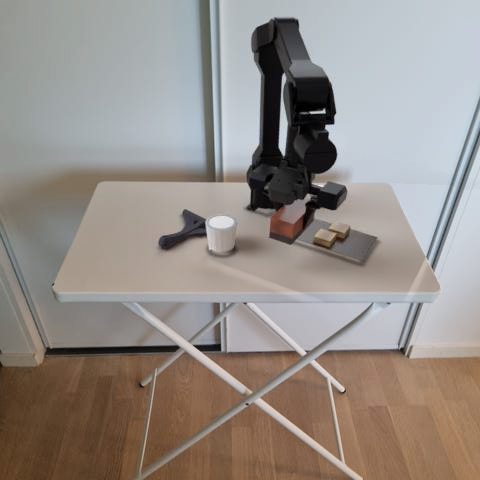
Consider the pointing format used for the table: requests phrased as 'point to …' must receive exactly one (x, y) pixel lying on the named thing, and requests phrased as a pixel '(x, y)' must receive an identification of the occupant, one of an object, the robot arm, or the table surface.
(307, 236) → the board
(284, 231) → the reddish orange block
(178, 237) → the bracket
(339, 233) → the cork bit
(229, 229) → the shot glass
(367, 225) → the table surface
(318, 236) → the cork bit
